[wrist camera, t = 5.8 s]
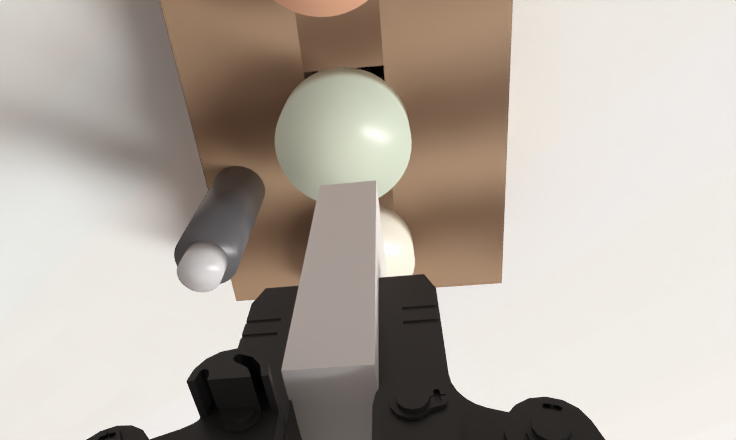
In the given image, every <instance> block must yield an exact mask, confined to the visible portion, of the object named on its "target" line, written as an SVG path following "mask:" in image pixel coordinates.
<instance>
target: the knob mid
mask: <svg viewBox="0 0 736 440" xmlns="http://www.w3.org/2000/svg"><path fill="white" fill-rule="evenodd" d="M411 142H412V140H411V132H410V127H409V121H408V117H407V113H406V110H405V107H404V105H403V103H402V101H401V99H400V97H399V96H398V94H397V93H396V92H395V91H394V89H393V88H392V87H391V86H390V85H389V84H388V83H386V82H385V81H384V80H382V79H381V78H380V77H378V76H376V75H374V74H372V73H370V72H367V71H365V70H361V69H357V68H350V67H336V68H329V69H326V70H322V71H319V72H317V73H315V74H313V75H311V76H309V77H308V78H306V79H305V80H304V81H302V82H301V83H300V84H299V85H298V86H297V87H296V88H295V89H294V90H293V92H292V93H291V95H290V96H289V98H288V99H287V101H286V104H285V106H284V108H283V110H282V112H281V115H280V117H279V119H278V123H277V126H276V131H275V151H276V155H277V159H278V162H279V164H280V167H281V169H282V171H283V172H284V174H285V176H286V177H287V178H288V180H289V181H290V182H291V183H292V184H293V185H294V186H295V187H296V188H297V189H298V190H299V191H301V192H302V193H303V194H305V195H306V196H308V197H310V198H312V199H314V200H316V201H317V196H318V191H319V186H321V185H332V184H343V183H353V182H364V181H375V180H376V183H377V191H378V198H379V197H381V196H383V195H384V194H385V193H387V192H388V191H389V190H390V189H392V188H393V187H394V186H395V185H396V183H397V182H398V181H399V180H400V178H401V177H402V175H403V174H404V172H405V170H406V168H407V165H408V162H409V159H410V154H411Z"/></svg>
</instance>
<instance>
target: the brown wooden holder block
mask: <svg viewBox="0 0 736 440" xmlns="http://www.w3.org/2000/svg"><path fill="white" fill-rule="evenodd" d="M160 3H161V7H162V11H163V15H164V19H165V23H166V27H167V31H168V34H169V38H170V42H171V46H172V50H173V54H174V58H175V62H176V66H177V70H178V74H179V78H180V81H181V85H182V89H183V93H184V97H185V101H186V105H187V109H188V113H189V117H190V121H191V125H192V128H193V132H194V136H195V140H196V144H197V148H198V152H199V156H200V160H201V164H202V168H203V172H204V176H205V179H206V183H207V187H208V191H209V189H210V187H211V185H212V184H213V182H214V180H215V179H216V177H217V175H218V174H219V173H220V172H221V171H222V170H224V169H225V168H228V167H231V166H243V167H246V168H249V169H251V170H253V171H254V172H255V173H257V174H258V175H259V176H260V178H261V179H262V181H263V183H264V186H265V197H264V199H263V202H262V205H261V207H260V210H259V213H258V215H257V218H256V221H255V223H254V226H253V229H252V231H251V234H250V237H249V239H248V242H247V245H246V247H245V250H244V253H243V255H242V258H241V261H240V263H239V266H238V269H237V271H236V273H235V274H234V276H233V277H232V278H231V281H232V285H233V289H234V293H235V297H236V301H243V300H256V299H257V297H258V296H259V295H260V294H261V293H262V292H263V291H264V290H265V288H275V287H288V286H299V282H300V278H301V273H302V268H303V263H304V258H305V253H306V249H307V244H308V239H309V234H310V229H311V225H312V220H313V215H314V210H315V205H316V200H314V199H312V198H310V197H308V196H306V195H305V194H303V193H302V192H301V191H299V190H298V189H297V188H296V187H295V186H294V185H293V184H292V183H291V182H290V181H289V180H288V178H287V177H286V176H285V174H284V172H283V171H282V169H281V167H280V164H279V162H278V159H277V155H276V151H275V131H276V126H277V123H278V119H279V117H280V115H281V112H282V110H283V108H284V106H285V104H286V101H287V99H288V98H289V96H290V95H291V93H292V92H293V90H294V89H295V88H296V87H297V86H298V85H299V84H300V83H301V82H302V81H304V80H305V79H306V78H308V77H309V76H311V75H313V74H315V73H317V71H322V70H326V69H329V68H336V67H350V68H359V67H371V66H382V65H383V68H384V81H385V82H386V83H388V84H389V85H390V86H391V87H392V88H393V89H394V91H395V92H396V93H397V94H398V96H399V97H400V99H401V101H402V103H403V105H404V107H405V110H406V113H407V117H408V121H409V127H410V132H411V140H412V142H411V154H410V159H409V162H408V165H407V168H406V170H405V172H404V174H403V175H402V177H401V178H400V180H399V181H398V182H397V183H396V185H395V186H394V187H393V188H392V189H390V190H389V191H388V192H387V193H385V194H384V195H383V196H381V197H379V198H378V200H379V204H380V205H383V206H385V207H387V208H389V209H391V210H393V211H394V212H396V213H397V214H398V215H399V216H400V217H401V218H402V219H403V220H404V221H405V223H406V224H407V226H408V228H409V230H410V232H411V236H412V241H413V249H414V257H415V267H414V272H413V274H412V275H418V274H425V276H426V277H427V278H428V279H429V280H430V282H431V283H432V284H433V285H434V286H435V287H449V286H464V285H479V284H493V283H502V259H503V234H504V208H505V183H506V158H507V132H508V107H509V82H510V56H511V31H512V6H513V0H368V1H366V2H365V3H364V4H362V5H361V6H359V7H357V8H356V9H353V10H351V11H349V12H347V13H343V14H340V15H336V16H330V17H314V16H307V15H303V14H299V13H296V12H294V11H291V10H289V9H287V8H285V7H283V6H282V5H280V4H278V3H277V2H276V1H274V0H160Z"/></svg>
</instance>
